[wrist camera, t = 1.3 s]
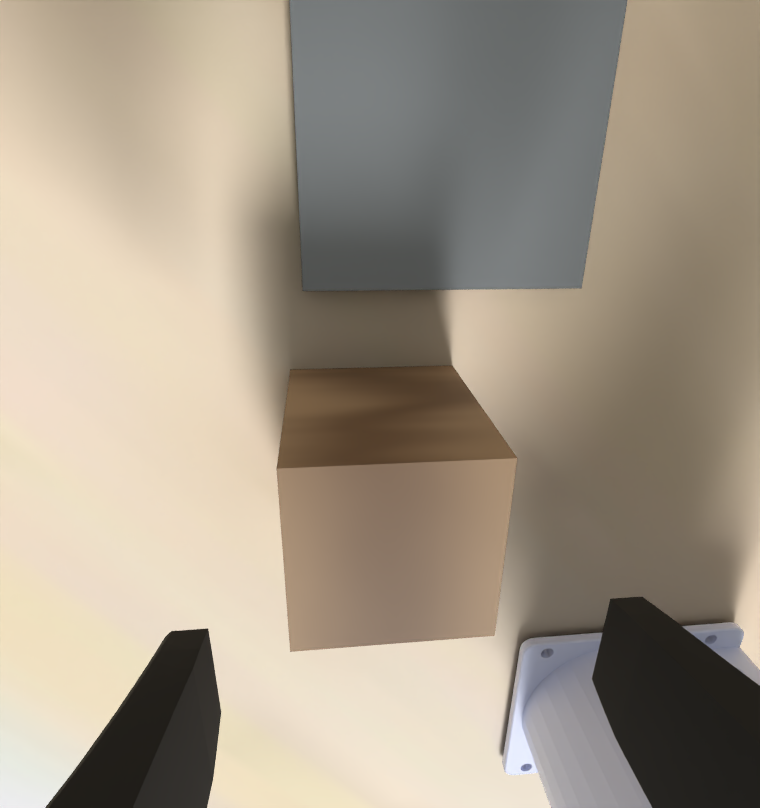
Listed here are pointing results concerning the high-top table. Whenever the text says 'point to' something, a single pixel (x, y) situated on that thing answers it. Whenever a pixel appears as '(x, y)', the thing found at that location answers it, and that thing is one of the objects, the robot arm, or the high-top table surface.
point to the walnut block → (390, 507)
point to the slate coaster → (450, 140)
